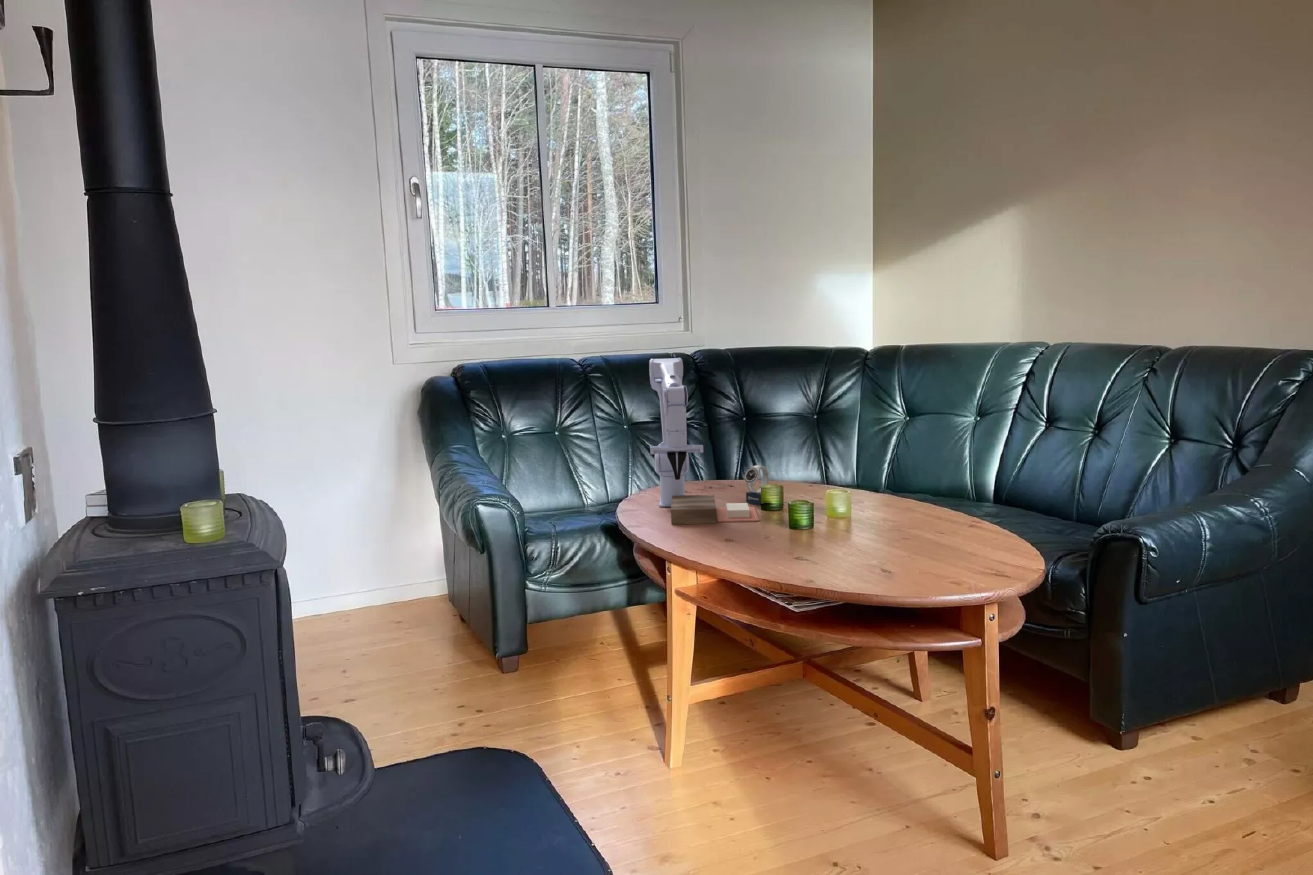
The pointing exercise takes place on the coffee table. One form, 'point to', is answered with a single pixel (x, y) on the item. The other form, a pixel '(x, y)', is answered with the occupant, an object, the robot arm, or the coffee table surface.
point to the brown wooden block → (693, 509)
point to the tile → (737, 510)
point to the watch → (751, 479)
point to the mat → (722, 517)
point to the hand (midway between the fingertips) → (677, 479)
